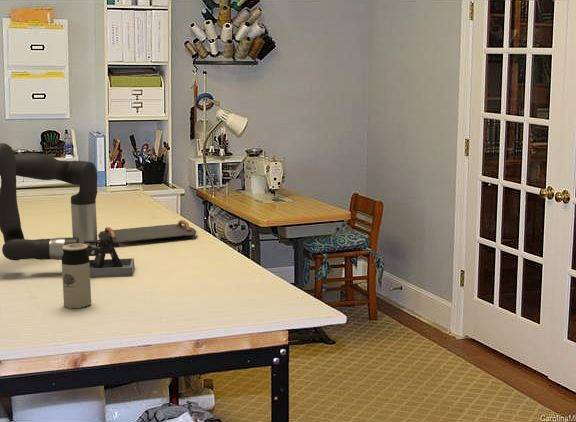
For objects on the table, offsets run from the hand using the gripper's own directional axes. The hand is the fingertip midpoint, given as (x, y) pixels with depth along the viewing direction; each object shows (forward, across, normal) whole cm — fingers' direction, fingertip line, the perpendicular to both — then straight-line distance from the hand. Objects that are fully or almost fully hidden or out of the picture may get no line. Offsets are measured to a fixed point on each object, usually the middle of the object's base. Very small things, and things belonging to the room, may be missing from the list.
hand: (113, 247), depth 314 cm
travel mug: (-8, -40, +9) cm, 42 cm away
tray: (-2, 0, +8) cm, 9 cm away
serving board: (+9, +55, +9) cm, 57 cm away
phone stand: (-2, +1, +8) cm, 8 cm away
